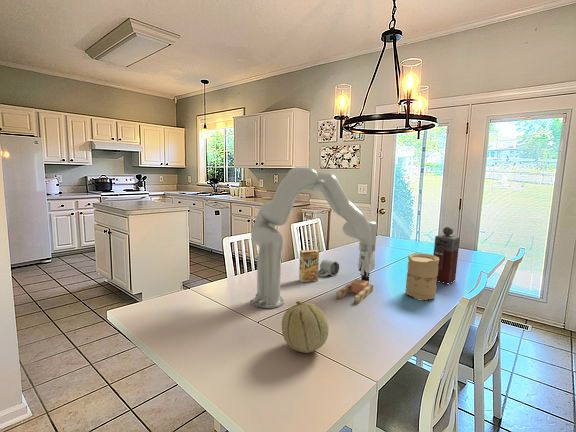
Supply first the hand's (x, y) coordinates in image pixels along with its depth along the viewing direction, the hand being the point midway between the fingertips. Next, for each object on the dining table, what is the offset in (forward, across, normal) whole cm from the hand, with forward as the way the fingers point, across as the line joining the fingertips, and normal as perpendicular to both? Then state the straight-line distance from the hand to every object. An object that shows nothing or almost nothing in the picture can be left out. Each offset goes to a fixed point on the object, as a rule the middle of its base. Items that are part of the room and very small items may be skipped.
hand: (364, 284), depth 156 cm
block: (+1, -7, 0) cm, 7 cm away
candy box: (+2, -9, +26) cm, 27 cm away
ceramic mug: (+2, +5, +22) cm, 23 cm away
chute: (+1, -12, 0) cm, 12 cm away
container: (+2, +5, -24) cm, 25 cm away
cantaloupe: (+2, -63, -4) cm, 63 cm away
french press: (+1, +32, -29) cm, 43 cm away
